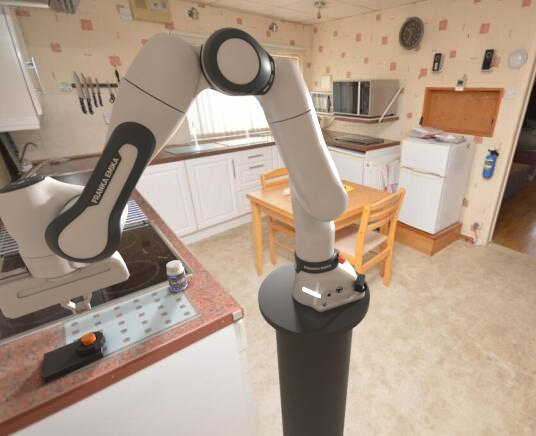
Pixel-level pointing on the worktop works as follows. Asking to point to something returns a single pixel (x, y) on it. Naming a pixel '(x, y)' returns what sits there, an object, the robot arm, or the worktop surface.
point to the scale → (72, 357)
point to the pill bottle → (176, 275)
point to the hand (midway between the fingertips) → (82, 310)
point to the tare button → (88, 339)
